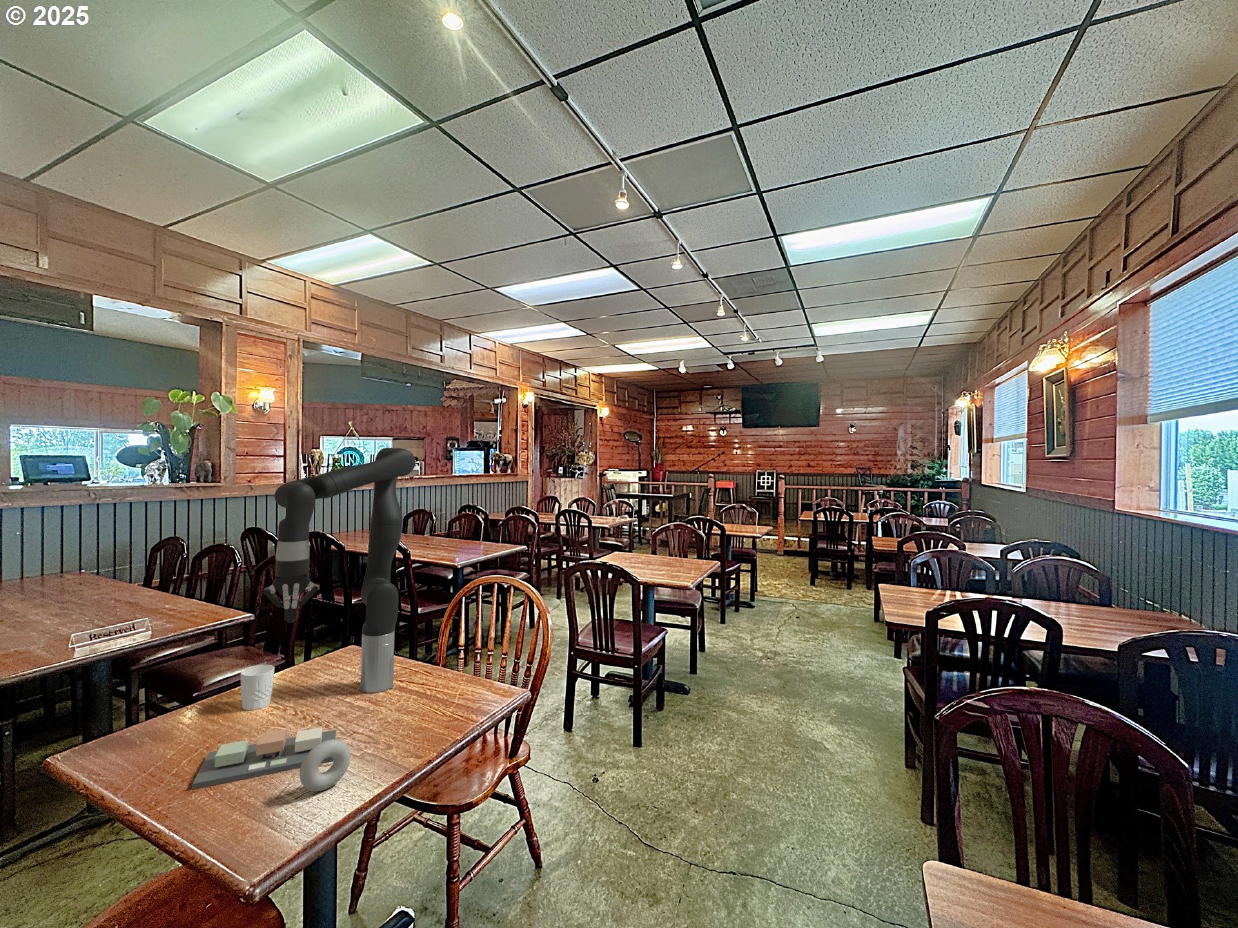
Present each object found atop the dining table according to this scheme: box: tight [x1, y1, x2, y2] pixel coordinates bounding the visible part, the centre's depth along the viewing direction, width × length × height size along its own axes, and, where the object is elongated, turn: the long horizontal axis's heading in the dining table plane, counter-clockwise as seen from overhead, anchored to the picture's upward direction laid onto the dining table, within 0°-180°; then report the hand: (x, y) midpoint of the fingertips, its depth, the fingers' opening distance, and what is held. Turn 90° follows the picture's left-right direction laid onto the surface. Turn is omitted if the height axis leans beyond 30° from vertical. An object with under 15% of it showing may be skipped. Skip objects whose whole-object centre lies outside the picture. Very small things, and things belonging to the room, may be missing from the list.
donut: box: [299, 739, 352, 792], centre depth 109 cm, size 10×4×10 cm, turn 141°
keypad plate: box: [191, 729, 337, 790], centre depth 119 cm, size 26×13×2 cm, turn 117°
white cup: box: [240, 664, 275, 711], centre depth 145 cm, size 8×8×10 cm
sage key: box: [215, 739, 249, 767], centre depth 115 cm, size 5×5×4 cm
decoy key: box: [256, 729, 288, 758], centre depth 119 cm, size 5×5×4 cm
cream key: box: [295, 727, 323, 752], centre depth 122 cm, size 5×5×4 cm
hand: (290, 621), depth 135 cm, fingers closed
